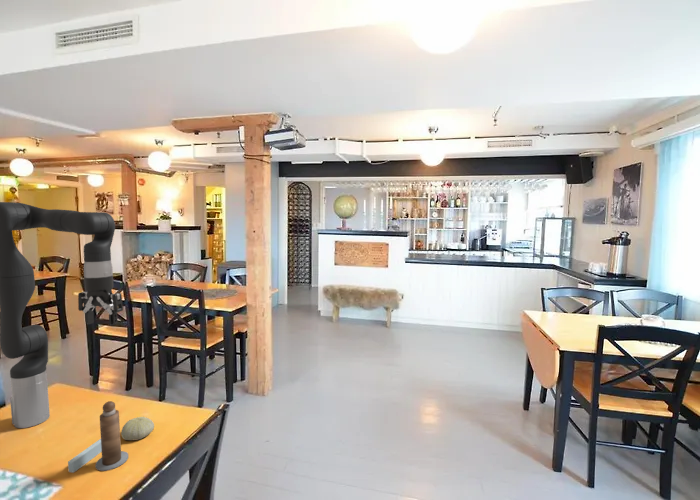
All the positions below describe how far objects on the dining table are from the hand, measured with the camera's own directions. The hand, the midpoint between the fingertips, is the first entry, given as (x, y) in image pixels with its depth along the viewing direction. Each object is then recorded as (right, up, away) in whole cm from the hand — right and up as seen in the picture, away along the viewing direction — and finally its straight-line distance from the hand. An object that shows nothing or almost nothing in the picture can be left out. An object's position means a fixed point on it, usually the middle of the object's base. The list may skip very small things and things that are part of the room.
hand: (101, 324), depth 116 cm
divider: (+4, -37, -11) cm, 39 cm away
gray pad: (+11, -37, -12) cm, 41 cm away
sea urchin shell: (+11, -37, +1) cm, 38 cm away
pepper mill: (+11, -37, -12) cm, 41 cm away
